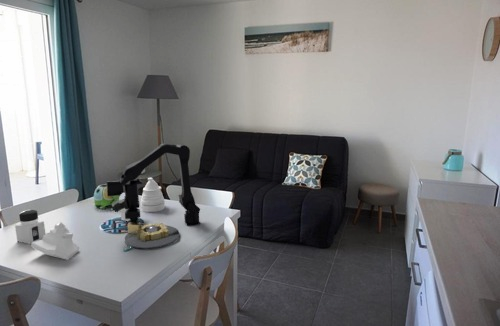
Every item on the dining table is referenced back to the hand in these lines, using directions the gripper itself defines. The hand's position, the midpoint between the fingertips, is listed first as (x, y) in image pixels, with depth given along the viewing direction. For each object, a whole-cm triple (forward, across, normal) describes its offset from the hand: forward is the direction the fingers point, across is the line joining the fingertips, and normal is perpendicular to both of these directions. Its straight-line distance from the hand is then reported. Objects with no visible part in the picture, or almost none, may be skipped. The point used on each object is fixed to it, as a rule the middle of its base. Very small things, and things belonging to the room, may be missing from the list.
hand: (133, 226), depth 151 cm
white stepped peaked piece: (+3, +13, -28) cm, 31 cm away
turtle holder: (+4, -46, -14) cm, 48 cm away
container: (+4, -6, -42) cm, 43 cm away
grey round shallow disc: (+3, +9, +8) cm, 12 cm away
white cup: (+4, -19, -3) cm, 19 cm away
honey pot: (+4, -33, +10) cm, 35 cm away
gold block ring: (+1, +8, +6) cm, 10 cm away
